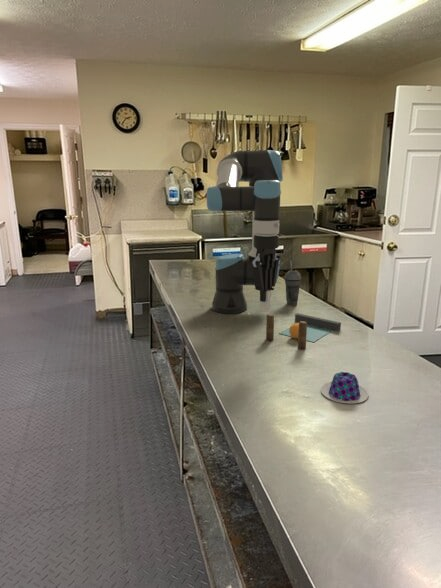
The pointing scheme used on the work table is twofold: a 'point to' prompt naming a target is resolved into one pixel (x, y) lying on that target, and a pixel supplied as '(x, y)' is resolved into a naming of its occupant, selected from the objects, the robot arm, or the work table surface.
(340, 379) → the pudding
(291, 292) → the beverage cup
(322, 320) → the stopper wall
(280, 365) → the work table surface
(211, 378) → the work table surface
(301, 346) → the right post
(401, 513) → the work table surface
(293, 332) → the ball
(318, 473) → the work table surface
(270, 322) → the left post
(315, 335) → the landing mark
